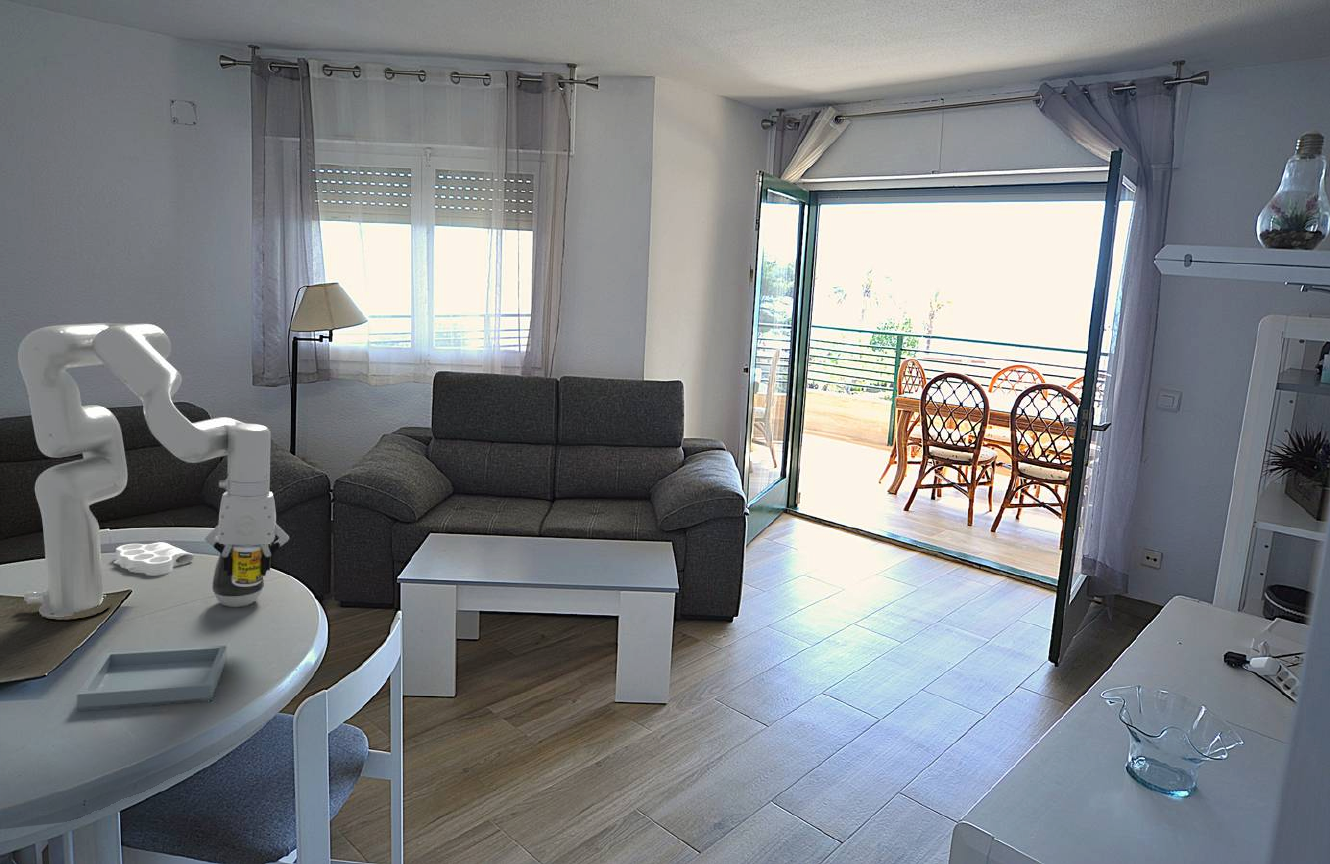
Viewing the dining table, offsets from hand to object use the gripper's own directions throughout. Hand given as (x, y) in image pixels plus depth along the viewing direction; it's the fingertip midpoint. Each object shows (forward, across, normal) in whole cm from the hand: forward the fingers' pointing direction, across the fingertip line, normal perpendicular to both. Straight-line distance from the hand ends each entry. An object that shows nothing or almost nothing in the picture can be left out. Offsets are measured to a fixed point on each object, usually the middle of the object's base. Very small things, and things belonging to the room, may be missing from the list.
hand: (247, 572), depth 173 cm
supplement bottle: (+2, 0, 0) cm, 2 cm away
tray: (+14, -12, -18) cm, 26 cm away
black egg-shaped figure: (+14, -4, +18) cm, 24 cm away
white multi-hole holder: (+16, -27, +46) cm, 56 cm away
